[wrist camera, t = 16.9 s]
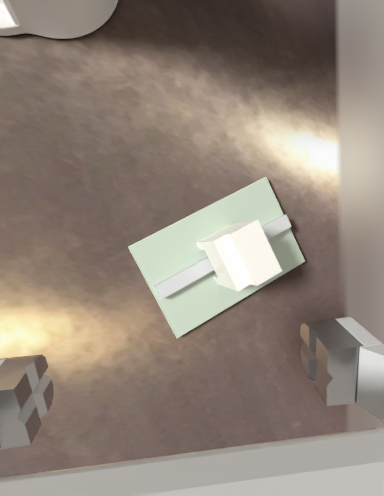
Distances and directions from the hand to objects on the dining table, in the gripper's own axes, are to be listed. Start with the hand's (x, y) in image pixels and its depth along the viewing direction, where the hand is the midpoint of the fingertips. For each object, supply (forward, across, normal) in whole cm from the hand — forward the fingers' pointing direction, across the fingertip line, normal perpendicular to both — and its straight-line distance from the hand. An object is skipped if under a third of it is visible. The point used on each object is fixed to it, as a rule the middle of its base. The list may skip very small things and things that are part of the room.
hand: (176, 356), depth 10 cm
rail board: (+27, -5, +5) cm, 28 cm away
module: (+26, -5, +5) cm, 27 cm away
